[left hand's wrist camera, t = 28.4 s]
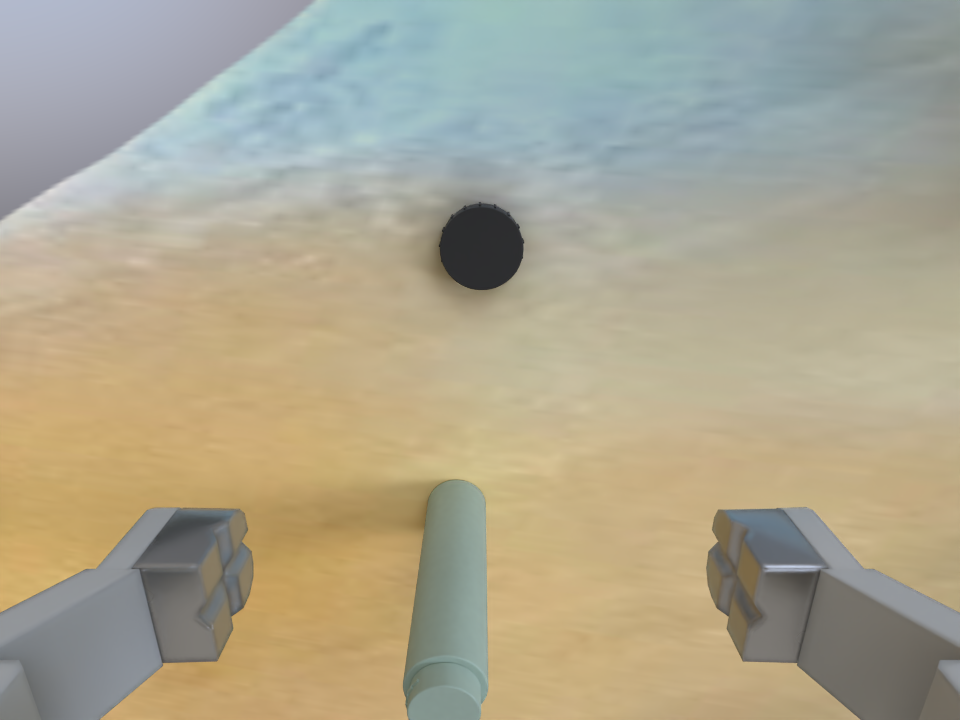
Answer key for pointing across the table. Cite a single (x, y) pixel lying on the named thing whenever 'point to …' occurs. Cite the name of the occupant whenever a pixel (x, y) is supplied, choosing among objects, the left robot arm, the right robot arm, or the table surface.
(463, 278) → the lid
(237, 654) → the table surface
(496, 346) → the table surface
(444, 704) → the jar
